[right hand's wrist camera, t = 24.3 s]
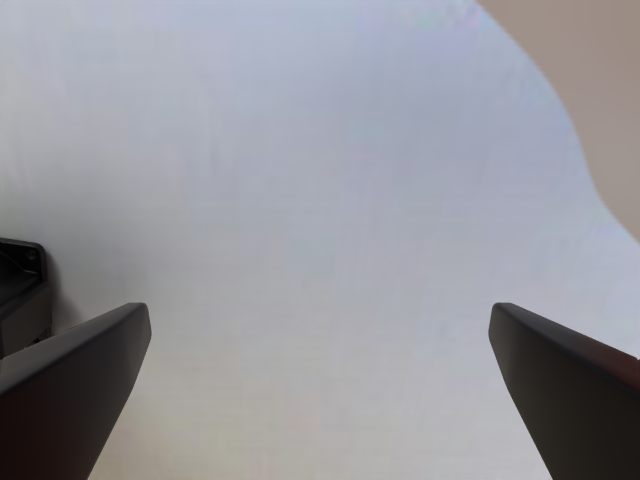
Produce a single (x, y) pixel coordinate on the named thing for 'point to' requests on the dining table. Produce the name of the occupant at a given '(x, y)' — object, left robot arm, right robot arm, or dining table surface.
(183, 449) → the dining table surface
